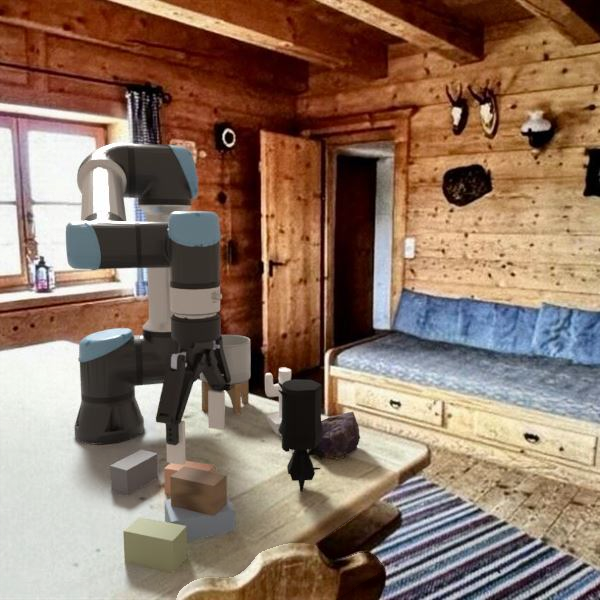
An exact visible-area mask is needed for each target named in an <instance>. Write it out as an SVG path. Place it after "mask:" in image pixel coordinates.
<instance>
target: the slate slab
mask: <svg viewBox="0 0 600 600" xmlns="http://www.w3.org/2000/svg"><path fill="white" fill-rule="evenodd" d="M164 522H168V523H173V524H179V525H184V526H187V542H188V541H192V540H196V539H197V540H198V539H202V538H207V536H208V537H212V536H216V535H222V534H223V535H224V534H226V533H227V532H228V533H232V531H233V532H236V509H235V508H234V505H233V504H232V502H231V500H230V498H229V496H228V495H227V505H226V506H225V507H224V508H223V509H221V510H220V511H219V512H218V513H217V514H216V515H215V516H212V515H207V514H203V513H199V512H195V511H191V510H187V509H182V508H178V507H174V506H171V498H168V499H164ZM228 533H227V534H228Z"/></svg>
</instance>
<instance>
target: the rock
mask: <svg viewBox="0 0 600 600" xmlns="http://www.w3.org/2000/svg"><path fill="white" fill-rule="evenodd" d="M321 422H322V429H323V430H322V437H321V442H320V443H319V445H318V447H319V448H320V449H321V450H322V451H323V452H324V453H326V454H325V455H326V456H325V455H324V457H325V458H323V457H322V459H326V458H332V459H337V460H342V459H345V458H347V457H348V456H350V455H351V454H352V453H354V452H356V451H357V450H358V445H359V443H360V439H361V435H360V428H359V426H360V425H359V424H358V421H357V419H356V416H355V413H354V411H347V412H345V413H341V414H337V415H331V416H330V415H329V417H326V418H325V419H323V420H321ZM311 450H312V449H308V453H309V452H310V451H311ZM312 456H313V457H314V458H316V459H320V458H319V457H318V456H317V455H312ZM320 460H321V459H320Z"/></svg>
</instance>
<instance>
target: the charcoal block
mask: <svg viewBox="0 0 600 600" xmlns="http://www.w3.org/2000/svg"><path fill="white" fill-rule="evenodd" d="M158 464H159V462H158V453H157V452H152V451H149V450H145V449H140V450H137V451H136V452H134V453H131V454H130V455H128V456H126V457H124V458H122V459H121V460H120V459H119V461H116V462H114V463H113V464H111V465H110V466H109V470H110V471H109V472H110V490H111V492H114V493H116V494H120V495H123V496H126V497H129V496H130V495H132V494H133V493H135V492H137V491H140V489H142V488H143V487H145V486H147V485H148V484H150V483H152V482H154V481H156V480H157V479H159V465H158Z"/></svg>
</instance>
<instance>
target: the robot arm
mask: <svg viewBox="0 0 600 600" xmlns="http://www.w3.org/2000/svg"><path fill="white" fill-rule="evenodd" d="M198 180H199V178H198V171H197V167H196V162H195V158H194V156H193V153H192V151H190V149H189V148H188V147H186V146H182V145H181V146H180V145H173V144H154V143H153V144H152V143H151V144H150V143H127V142H117V143H112V144H107V145H105V146H102V147H100V148H98V149H96V150H94V151H92V152H91V153H90V154H88V156H86V157H85V158H84V159H83V160H82V161H81V163H80V164H79V167H78V169H77V175H76V184H77V188H78V189H79V192H80V193H81V210H80V221H71V222H68V223H67V224H66V226H65V246H66V247H65V248H66V259H67V264H68V265H69V267H70V268H72V269H74V270H91V271H97V270H113V269H114V270H116V269H117V270H121V269H147V271H146V272H147V295H148V296H147V297H148V320H147V321H146V322H145V323H144V324H143V325H142V334H134V332H133V330H132V329H131V328H127V327H124V328H120V327H118V328H117V327H116V328H110V329H105V330H101V331H97V332H94V333H90V334H88V335H86V336H85V337H83V338H82V339H81V341H80V342H79V345H78V346H79V347H78V351H79V352H78V363H79V377H80V399H81V402H80V405H79V409H78V412H77V416H76V420H75V423H74V437H75V439H76V438H77V439H76V440H78V441H79V440H80V441H79V442H82V441H83V442H82V443H85V442H86V444H91V443H92V445H107V443H108V444H115V443H120V442H121V443H122V442H124V441H127V440H130V439H134V438H135V437H138V436H139V435H140V434H142V433H143V432H144V429H145V420H144V416H143V414H142V412H141V409H140V405H139V403H138V400H137V398H136V389H135V388H136V386H138V387H139V386H147V385H160V384H161V385H162V387H161V392H160V398H159V402H158V405H157V410H156V415H155V422H156V423H158V424H159V423H160V424H165V440H166V441H165V442H166V463H169V464H170V463H174V464H180V465H184V464H185V463H186V461H187V458H186V452H187V451H186V421H185V420H183V416H184V413H185V411H186V406H187V403H188V402H189V398H190V394H191V392H192V388H193V385H194V382H197V381H198V379H199V378H200V374H201V373H203V375H204V376H205V378H206V380H207V382H208V384H209V385H210V387H211V389H213V390H209V391H208V412H207V414H208V418H207V419H208V421H207V423H208V429H214V430H222V431H224V429H226V424H225V423H226V420H225V419H226V412H225V411H226V408H225V407H226V406H225V404H226V401H225V394H226V393H225V392H226V391H229V390H230V388H231V385H230V384H227V383H230V382H231V377H230V373H229V369H228V365H227V361H226V357H225V354H224V350H223V340H222V336H221V335H222V327H221V325H222V323H221V321H222V319H221V315H220V314H219V312H220V310H221V300H222V299H223V294H222V293H221V238H222V232H221V227H220V217H219V215H218V214H217V213H216V212H214V211H202V210H201V211H200V210H199V211H198V210H193V211H192V210H190V209H191V208H192V200H196V199H197V198H198V196H199V181H198ZM125 198H128V199H133V198H134V199H137V204H138V205H137V206H138V208H139V209H140V210H141V211H142V212H143V213H144V215H145V221H127V215H126V207H125V200H124V199H125ZM221 374H223V375H224V376H222V375H221ZM225 390H226V391H225ZM93 443H95V444H93Z"/></svg>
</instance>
